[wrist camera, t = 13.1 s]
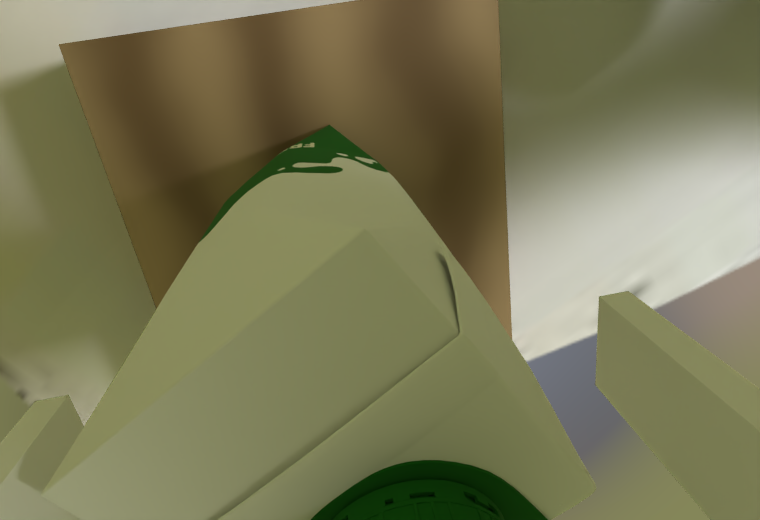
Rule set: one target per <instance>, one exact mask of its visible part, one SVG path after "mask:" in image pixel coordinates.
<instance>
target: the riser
mask: <svg viewBox="0 0 760 520" xmlns="http://www.w3.org/2000/svg"><path fill="white" fill-rule="evenodd" d="M59 47H60V49H61V52H62V55H63V58H64V60H65V63H66V66H67V68H68V71H69V74H70V76H71V79H72V82H73V85H74V87H75V90H76V93H77V95H78V98H79V101H80V103H81V106H82V109H83V112H84V114H85V117H86V120H87V122H88V125H89V128H90V130H91V133H92V136H93V139H94V141H95V144H96V147H97V149H98V152H99V155H100V157H101V160H102V163H103V166H104V168H105V171H106V174H107V176H108V179H109V182H110V185H111V187H112V190H113V193H114V195H115V198H116V201H117V203H118V206H119V209H120V212H121V214H122V217H123V220H124V222H125V225H126V228H127V230H128V233H129V236H130V239H131V241H132V244H133V247H134V249H135V252H136V255H137V257H138V260H139V263H140V266H141V268H142V271H143V274H144V276H145V279H146V282H147V284H148V287H149V290H150V293H151V295H152V298H153V301H154V303H155V306H156V309H157V307H158V306H159V304H160V303H161V301H162V299H163V298H164V296H165V294H166V293H167V291H168V289H169V288H170V286H171V285H172V283H173V282H174V280H175V278H176V277H177V275H178V274H179V272H180V271H181V269H182V268H183V266H184V264H185V263H186V261H187V260H188V258H189V257H190V255H191V254H192V252H193V251H194V249H195V247H196V246H197V244H198V243H199V241H200V240H201V238H202V237H203V235H204V234H205V232H206V230H207V229H208V227H209V226H210V224H211V223H212V221H213V220H214V218H215V217H216V215H217V213H218V212H219V210H220V209H221V207H222V206H223V204H224V203H225V202H226V201H227V200H228V198H229V197H230V196H232V195H233V194H234V193H235V192H236V191H237V190H238V189H239V188H240V187H241V186H242V185H243V184H244V183H246V182H247V181H248V180H249V179H250V178H251V177H252V176H254V175H255V174H256V173H257V172H258V171H260V170H261V169H262V168H263V167H264V166H265V165H267V164H268V163H269V162H270V161H271V160H272V159H273V158H275V157H276V156H277V155H278V154H280V153H281V152H283V151H284V150H286V149H287V148H289V147H291V146H293V145H294V144H296V143H298V142H300V141H301V140H303V139H305V138H307V137H308V136H310V135H312V134H314V133H316V132H317V131H319V130H321V129H323V128H324V127H326V126H328V125H331V126H332V127H333V128H334V129H336V130H337V131H338V132H340V133H341V134H342V135H344V136H345V137H346V138H347V139H349V140H350V141H351V142H353V143H354V144H355V145H357V146H358V147H359V148H360V149H362V150H363V151H364V152H366V153H367V154H368V155H370V156H371V157H372V158H374V159H375V160H376V161H378V162H379V163H380V164H381V165H382V166H383V167H384V168H385V169H386V170H387V171H388V172H389V173H390V174H391V175H392V176H393V177H394V178H395V179H396V180H397V181H398V182H399V184H400V185H401V186H402V187H403V189H404V190H405V191H406V192H407V194H408V195H409V196H410V198H411V199H412V200H413V202H414V203H415V204H416V206H417V207H418V208H419V210H420V211H421V212H422V214H423V215H424V216H425V218H426V219H427V220H428V222H429V223H430V224H431V226H432V227H433V229H434V230H435V231H436V233H437V234H438V235H439V237H440V238H441V239H442V241H443V242H444V244H445V245H446V246H447V248H448V249H449V250H450V252H451V253H452V255H453V256H454V257H455V259H456V260H457V261H458V263H459V264H460V265H461V266H462V268H463V269H464V270H465V272H466V273H467V275H468V276H469V277H470V278H471V280H472V281H473V283H474V284H475V286H476V287H477V288H478V290H479V291H480V293H481V294H482V295H483V297H484V298H485V300H486V301H487V303H488V304H489V306H490V307H491V309H492V310H493V312H494V313H495V315H496V316H497V318H498V319H499V321H500V322H501V324H502V326H503V327H504V329H505V330H506V332H507V333H508V335H509V336H510V338H511V339H512V328H511V304H510V279H509V254H508V230H507V205H506V181H505V156H504V132H503V107H502V83H501V58H500V34H499V9H498V0H356V1H350V2H343V3H336V4H329V5H322V6H316V7H309V8H302V9H295V10H289V11H282V12H275V13H268V14H261V15H255V16H248V17H241V18H234V19H228V20H221V21H214V22H207V23H200V24H194V25H187V26H180V27H173V28H167V29H160V30H153V31H146V32H139V33H133V34H126V35H119V36H112V37H106V38H99V39H92V40H85V41H79V42H72V43H65V44H59Z"/></svg>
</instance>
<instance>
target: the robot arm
mask: <svg viewBox="0 0 760 520" xmlns="http://www.w3.org/2000/svg"><path fill="white" fill-rule="evenodd" d="M595 385H596V386H597V388H598V389H599V390H600V391H601V392H602V393H603V394H604V396H605V397H606V398H607V399H608V400H609V402H610V403H611V404H612V405H613V406H614V408H615V409H616V410H617V411H618V412H619V413H620V414H621V416H622V417H623V418H624V419H625V420H626V422H627V423H628V424H629V425H630V426H631V427H632V429H633V430H634V431H635V432H636V433H637V434H638V436H639V437H640V438H641V439H642V440H643V442H644V443H645V444H646V445H647V446H648V447H649V449H650V450H651V451H652V452H653V453H654V454H655V456H656V457H657V458H658V459H659V460H660V461H661V463H662V464H663V465H664V466H665V467H666V468H667V470H668V471H669V472H670V473H671V474H672V476H673V477H674V478H675V479H676V480H677V481H678V483H679V484H680V485H681V486H682V487H683V488H684V490H685V491H686V492H687V493H688V494H689V495H690V497H691V498H692V499H693V500H694V501H695V503H696V504H697V505H698V506H699V507H700V508H701V509H702V511H703V512H704V513H705V514H706V515H707V517H708V518H709V519H710V520H760V389H759V388H758V387H757V386H755V385H754V384H753V383H751V382H750V381H749V380H747V379H746V378H745V377H743V376H742V375H740V374H739V373H738V372H737V371H735V370H734V369H732V368H731V367H730V366H728V365H727V364H726V363H724V362H723V361H722V360H720V359H719V358H718V357H716V356H715V355H714V354H712V353H711V352H710V351H708V350H707V349H705V348H704V347H703V346H701V345H700V344H699V343H697V342H696V341H695V340H693V339H692V338H691V337H689V336H688V335H687V334H685V333H684V332H683V331H681V330H680V329H679V328H677V327H676V326H675V325H673V324H672V323H671V322H669V321H668V320H666V319H665V318H664V317H662V316H661V315H660V314H658V313H657V312H656V311H654V310H653V309H652V308H650V307H649V306H648V305H646V304H645V303H644V302H642V301H641V300H640V299H638V298H637V297H636V296H634V295H633V294H632V293H630V292H629V291H626V292H621V293H615V294H610V295H605V296H599V311H598V334H597V360H596V381H595ZM83 428H84V426H83V424H82V422H81V420H80V418H79V416H78V414H77V412H76V410H75V407H74V405H73V403H72V401H71V399H70V397H69V395H66V396H61V397H55V398H50V399H45V400H39V401H35V402H34V404H33V405H32V406H31V407H30V408H29V409H28V411H27V412H26V413H25V414H24V415H23V417H22V418H21V419H20V420H19V421H18V423H17V424H16V425H15V426H14V427H13V429H12V430H11V431H10V432H9V433H8V435H7V436H6V437H5V438H4V439H3V440H2V442H1V443H0V520H81V519H79V518H77V517H76V516H74V515H72V514H71V513H69V512H67V511H65V510H64V509H62V508H60V507H58V506H57V505H55V504H53V503H52V502H50V501H48V500H47V499H45V498H43V497H42V496H41V494H42V492H43V490H44V489H45V487H46V486H47V484H48V483H49V481H50V480H51V478H52V477H53V475H54V474H55V472H56V471H57V469H58V467H59V466H60V464H61V463H62V461H63V459H64V458H65V456H66V455H67V453H68V451H69V450H70V448H71V447H72V445H73V443H74V442H75V440H76V439H77V437H78V435H79V434H80V432H81V431H82V429H83Z"/></svg>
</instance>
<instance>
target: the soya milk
mask: <svg viewBox="0 0 760 520" xmlns="http://www.w3.org/2000/svg"><path fill="white" fill-rule="evenodd" d="M595 490H596V485H595V482H594V481H593V479H592V477H591V476H590V474H589V472H588V471H587V469H586V467H585V466H584V464H583V462H582V461H581V459H580V457H579V455H578V454H577V452H576V450H575V448H574V447H573V445H572V443H571V441H570V439H569V437H568V436H567V434H566V432H565V430H564V428H563V426H562V425H561V423H560V421H559V419H558V417H557V415H556V413H555V412H554V410H553V408H552V406H551V404H550V403H549V401H548V399H547V397H546V396H545V394H544V392H543V390H542V388H541V387H540V385H539V383H538V381H537V380H536V378H535V376H534V374H533V372H532V371H531V369H530V367H529V366H528V364H527V363H526V361H525V360H524V358H523V356H522V355H521V353H520V352H519V350H518V349H517V347H516V346H515V344H514V342H513V341H512V339H511V338H510V336H509V335H508V333H507V332H506V330H505V329H504V327H503V326H502V324H501V322H500V321H499V319H498V318H497V316H496V315H495V313H494V312H493V310H492V309H491V307H490V306H489V304H488V303H487V301H486V300H485V298H484V297H483V295H482V294H481V293H480V291H479V290H478V288H477V287H476V286H475V284H474V283H473V281H472V280H471V278H470V277H469V276H468V275H467V273H466V272H465V270H464V269H463V268H462V266H461V265H460V264H459V263H458V261H457V260H456V259H455V257H454V256H453V255H452V253H451V252H450V250H449V249H448V248H447V246H446V245H445V244H444V242H443V241H442V239H441V238H440V237H439V235H438V234H437V233H436V231H435V230H434V229H433V227H432V226H431V224H430V223H429V222H428V220H427V219H426V218H425V216H424V215H423V214H422V212H421V211H420V210H419V208H418V207H417V206H416V204H415V203H414V202H413V200H412V199H411V198H410V196H409V195H408V194H407V192H406V191H405V190H404V189H403V187H402V186H401V185H400V184H399V182H398V181H397V180H396V179H395V178H394V177H393V176H392V175H391V174H390V173H389V172H388V171H387V170H386V169H385V168H384V167H383V166H382V165H381V164H380V163H379V162H378V161H376V160H375V159H374V158H372V157H371V156H370V155H368V154H367V153H366V152H364V151H363V150H362V149H360V148H359V147H358V146H357V145H355V144H354V143H353V142H351V141H350V140H349V139H347V138H346V137H345V136H344V135H342V134H341V133H340V132H338V131H337V130H336V129H334V128H333V127H332V126H331V125H328V126H326V127H324V128H323V129H321V130H319V131H317V132H316V133H314V134H312V135H310V136H308V137H307V138H305V139H303V140H301V141H300V142H298V143H296V144H294V145H293V146H291V147H289V148H287V149H286V150H284V151H283V152H281V153H280V154H278V155H277V156H276V157H275V158H273V159H272V160H271V161H270V162H269V163H268V164H267V165H265V166H264V167H263V168H262V169H261V170H260V171H258V172H257V173H256V174H255V175H254V176H252V177H251V178H250V179H249V180H248V181H247V182H246V183H244V184H243V185H242V186H241V187H240V188H239V189H238V190H237V191H236V192H235V193H234V194H233V195H232V196H230V197H229V198H228V200H227V201H226V202H225V203H224V204H223V206H222V207H221V209H220V210H219V212H218V213H217V215H216V217H215V218H214V220H213V221H212V223H211V224H210V226H209V227H208V229H207V230H206V232H205V234H204V235H203V237H202V238H201V240H200V241H199V243H198V244H197V246H196V247H195V249H194V251H193V252H192V254H191V255H190V257H189V258H188V260H187V261H186V263H185V264H184V266H183V268H182V269H181V271H180V272H179V274H178V275H177V277H176V278H175V280H174V282H173V283H172V285H171V286H170V288H169V289H168V291H167V293H166V294H165V296H164V298H163V299H162V301H161V303H160V304H159V306H158V307H157V309H156V311H155V312H154V314H153V316H152V317H151V319H150V321H149V322H148V324H147V326H146V327H145V329H144V331H143V332H142V334H141V336H140V337H139V339H138V341H137V342H136V344H135V345H134V347H133V349H132V350H131V352H130V354H129V355H128V357H127V359H126V360H125V362H124V364H123V365H122V367H121V369H120V370H119V372H118V373H117V375H116V377H115V378H114V380H113V381H112V383H111V385H110V386H109V388H108V389H107V391H106V393H105V394H104V396H103V397H102V399H101V400H100V402H99V404H98V405H97V407H96V408H95V410H94V412H93V413H92V415H91V416H90V418H89V420H88V421H87V423H86V424H85V426H84V428H83V429H82V431H81V432H80V434H79V435H78V437H77V439H76V440H75V442H74V443H73V445H72V447H71V448H70V450H69V451H68V453H67V455H66V456H65V458H64V459H63V461H62V463H61V464H60V466H59V467H58V469H57V471H56V472H55V474H54V475H53V477H52V478H51V480H50V481H49V483H48V484H47V486H46V487H45V489H44V490H43V492H42V494H41V496H42V497H43V498H45V499H47V500H48V501H50V502H52V503H53V504H55V505H57V506H58V507H60V508H62V509H64V510H65V511H67V512H69V513H71V514H72V515H74V516H76V517H77V518H79V519H81V520H552V519H553V518H555V517H556V516H558V515H560V514H562V513H563V512H565V511H567V510H568V509H570V508H572V507H574V506H575V505H577V504H578V503H580V502H581V501H583V500H584V499H586V498H587V497H589V496H590V495H591V494H592V493H594V491H595Z"/></svg>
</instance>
